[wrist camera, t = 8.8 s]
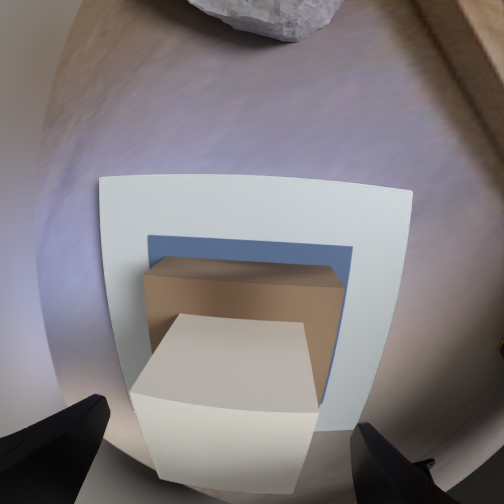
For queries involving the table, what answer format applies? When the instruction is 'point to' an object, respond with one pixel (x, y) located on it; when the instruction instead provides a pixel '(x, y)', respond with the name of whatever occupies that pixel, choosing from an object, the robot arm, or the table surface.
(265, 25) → the stone block
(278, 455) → the plastic cube
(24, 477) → the robot arm
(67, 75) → the table surface
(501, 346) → the decorative lantern
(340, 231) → the board
